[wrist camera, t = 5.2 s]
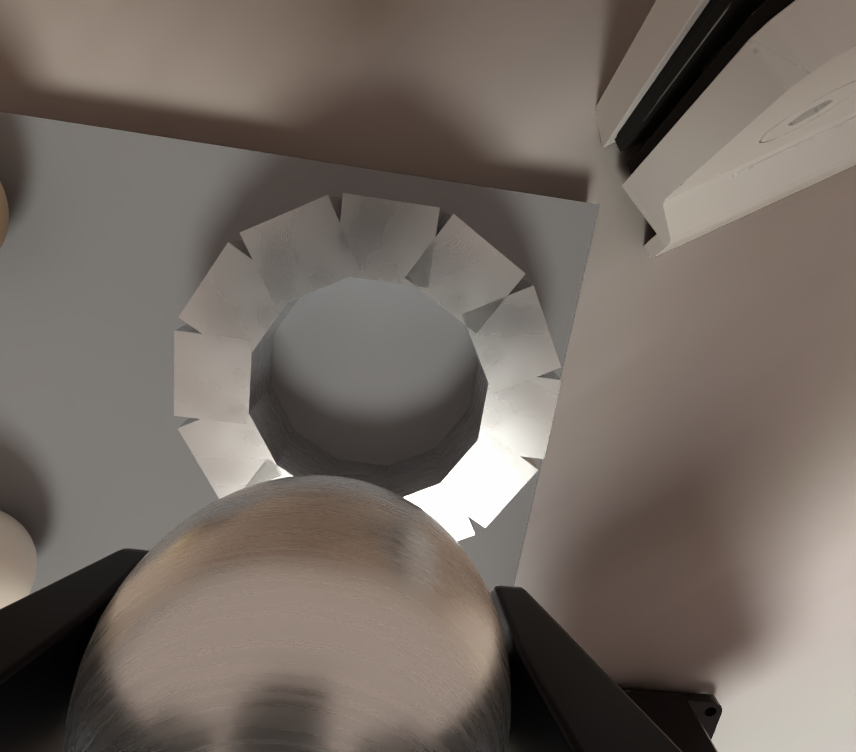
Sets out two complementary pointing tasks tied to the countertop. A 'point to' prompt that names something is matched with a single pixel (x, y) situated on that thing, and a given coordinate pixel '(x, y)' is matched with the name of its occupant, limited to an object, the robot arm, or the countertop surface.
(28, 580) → the plastic ball
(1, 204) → the tan wooden ball
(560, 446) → the countertop surface
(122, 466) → the mat
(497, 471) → the crimped metal cup
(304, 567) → the steel ball
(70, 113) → the countertop surface
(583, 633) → the countertop surface
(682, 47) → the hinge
